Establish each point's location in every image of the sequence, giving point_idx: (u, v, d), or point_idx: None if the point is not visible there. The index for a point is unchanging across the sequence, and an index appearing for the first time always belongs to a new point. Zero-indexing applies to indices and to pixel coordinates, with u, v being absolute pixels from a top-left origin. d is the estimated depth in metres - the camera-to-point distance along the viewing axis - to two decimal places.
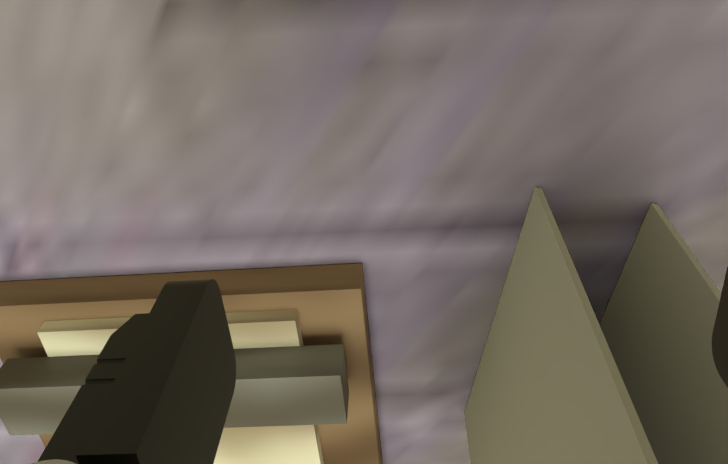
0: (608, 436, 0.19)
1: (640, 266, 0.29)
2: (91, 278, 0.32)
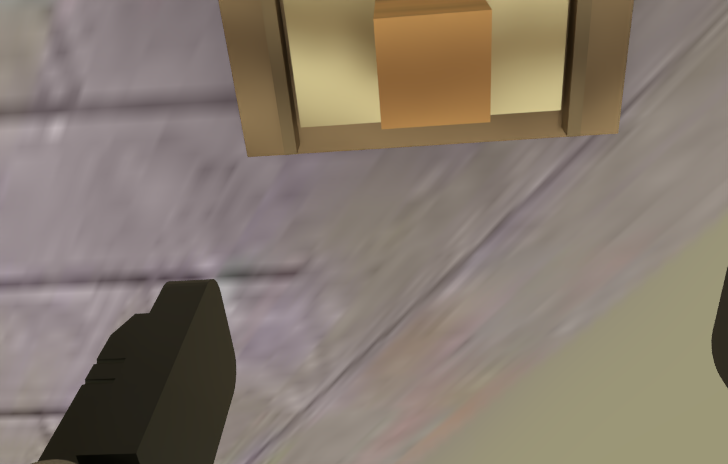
0: None
1: None
2: None
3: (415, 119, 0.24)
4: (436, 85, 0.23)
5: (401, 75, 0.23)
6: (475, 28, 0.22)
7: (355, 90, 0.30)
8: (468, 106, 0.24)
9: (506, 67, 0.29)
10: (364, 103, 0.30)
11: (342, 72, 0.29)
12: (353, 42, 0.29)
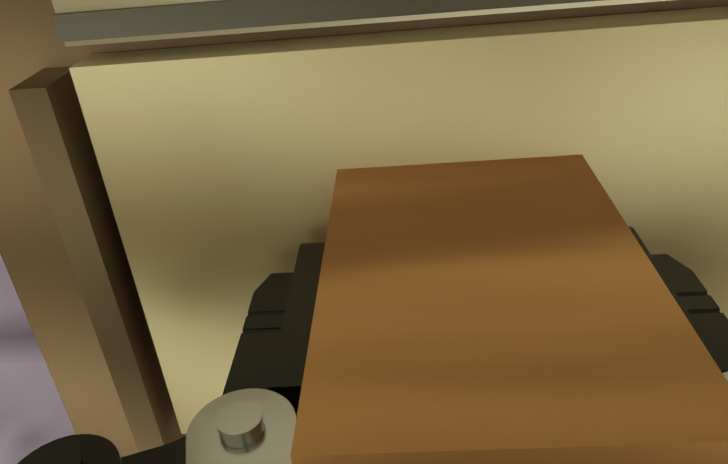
0: None
1: None
2: None
3: None
4: None
5: None
6: None
7: None
8: None
9: None
10: None
11: None
12: None
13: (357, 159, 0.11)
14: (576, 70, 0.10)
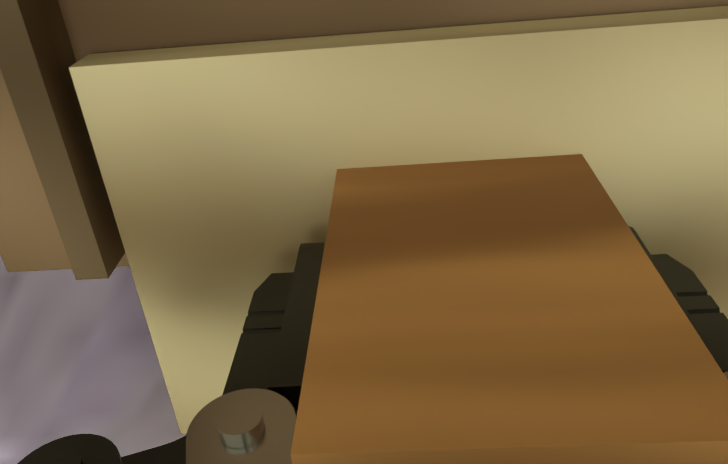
0: None
1: None
2: None
3: None
4: None
5: None
6: None
7: None
8: None
9: None
10: None
11: None
12: None
13: (357, 159, 0.11)
14: (576, 69, 0.10)
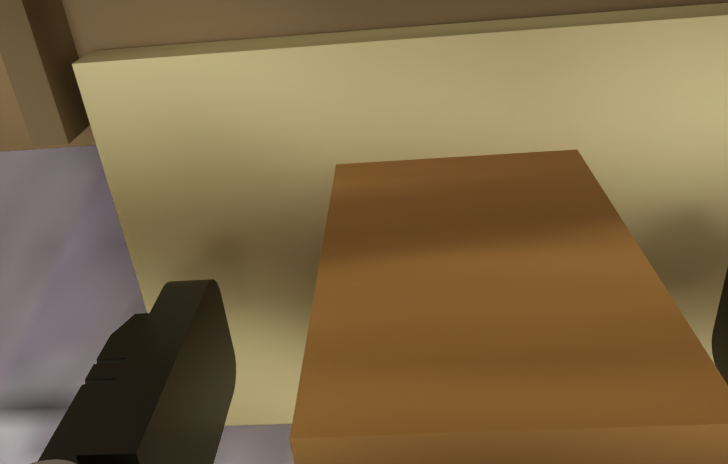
0: None
1: None
2: None
3: None
4: None
5: None
6: None
7: (296, 366, 0.13)
8: None
9: None
10: None
11: (264, 333, 0.13)
12: (285, 278, 0.12)
13: (356, 154, 0.11)
14: (571, 66, 0.10)
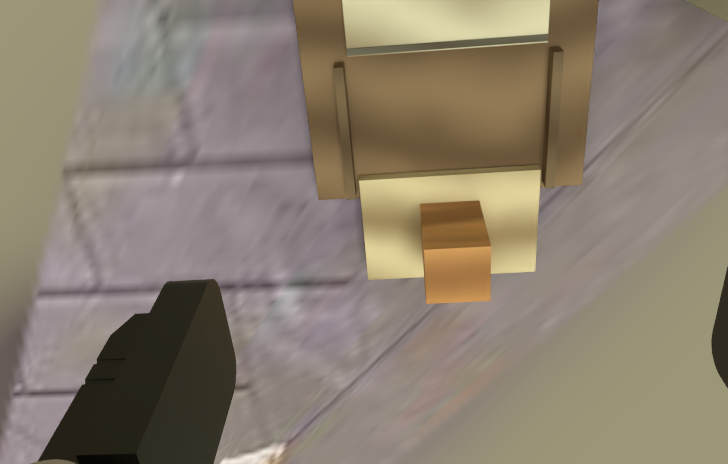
0: None
1: None
2: None
3: (446, 299, 0.41)
4: (459, 282, 0.41)
5: (438, 276, 0.40)
6: (481, 254, 0.40)
7: (404, 259, 0.47)
8: (477, 292, 0.41)
9: (500, 247, 0.46)
10: (410, 266, 0.47)
11: (396, 249, 0.47)
12: (404, 233, 0.46)
13: (425, 201, 0.45)
14: (476, 181, 0.44)
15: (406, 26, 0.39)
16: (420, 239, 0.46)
